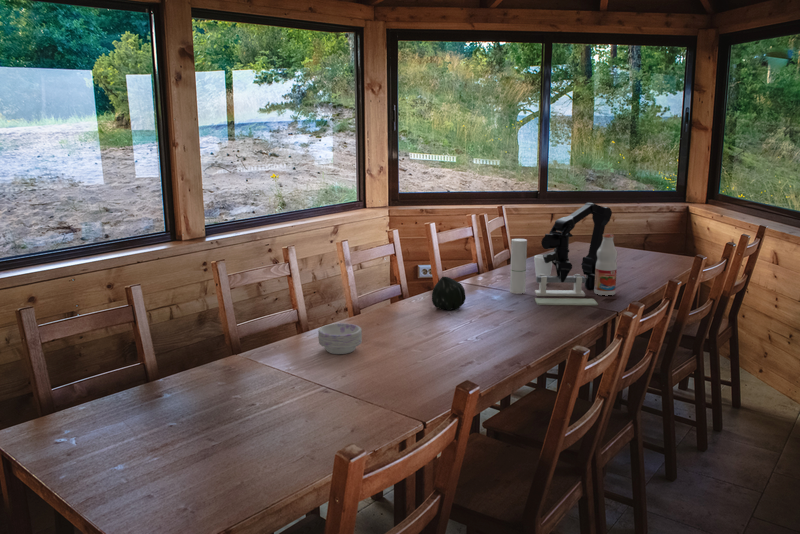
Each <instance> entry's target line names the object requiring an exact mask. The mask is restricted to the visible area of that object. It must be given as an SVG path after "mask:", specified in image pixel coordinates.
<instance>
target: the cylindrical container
mask: <svg viewBox="0 0 800 534" xmlns="http://www.w3.org/2000/svg"><path fill="white" fill-rule="evenodd" d="M510 244H511V245H510V246H511V247H510V250H511V251H510V275H509V276H510V280H509V292H510V294H515V295H516V294H517V295H521V294H522V293H523V294H525V293H526V281H527V278H526V277H527V255H528V254H527V252H528V250H527V249H528V239H525V238H511V242H510ZM523 294H522V295H523Z"/></svg>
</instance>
